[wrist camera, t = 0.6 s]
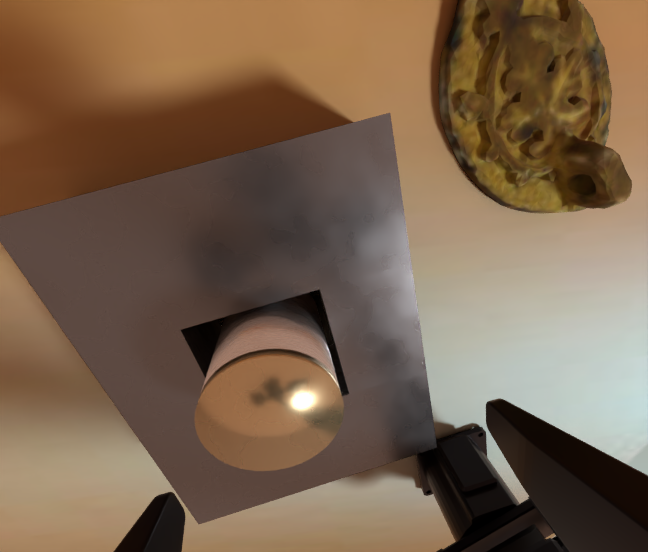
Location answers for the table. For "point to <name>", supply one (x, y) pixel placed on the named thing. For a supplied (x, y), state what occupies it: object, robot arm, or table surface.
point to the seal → (531, 105)
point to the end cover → (270, 388)
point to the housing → (241, 297)
